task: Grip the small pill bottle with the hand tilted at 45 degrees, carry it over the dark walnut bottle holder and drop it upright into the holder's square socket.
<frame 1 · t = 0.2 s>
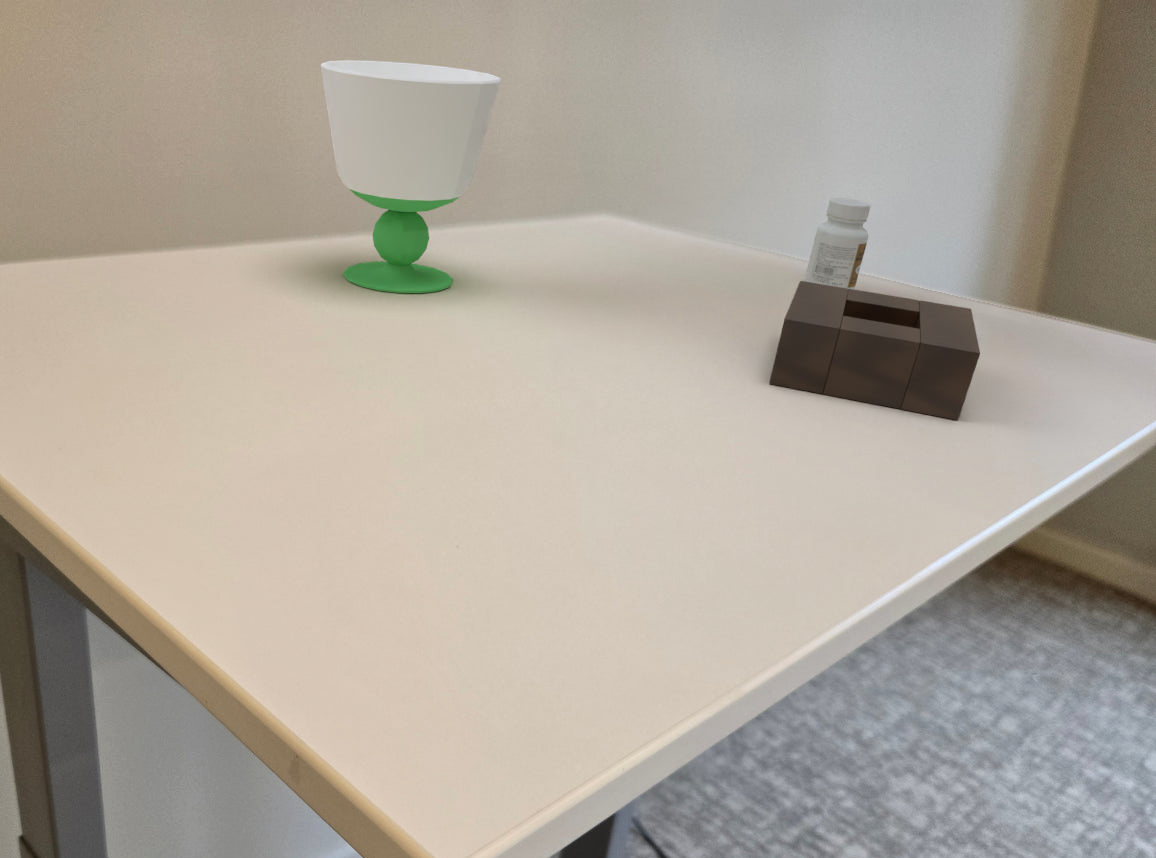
holder: (864, 376, 75), on the table
pill bottle: (827, 291, 97), on the table
cup: (398, 280, 89), on the table
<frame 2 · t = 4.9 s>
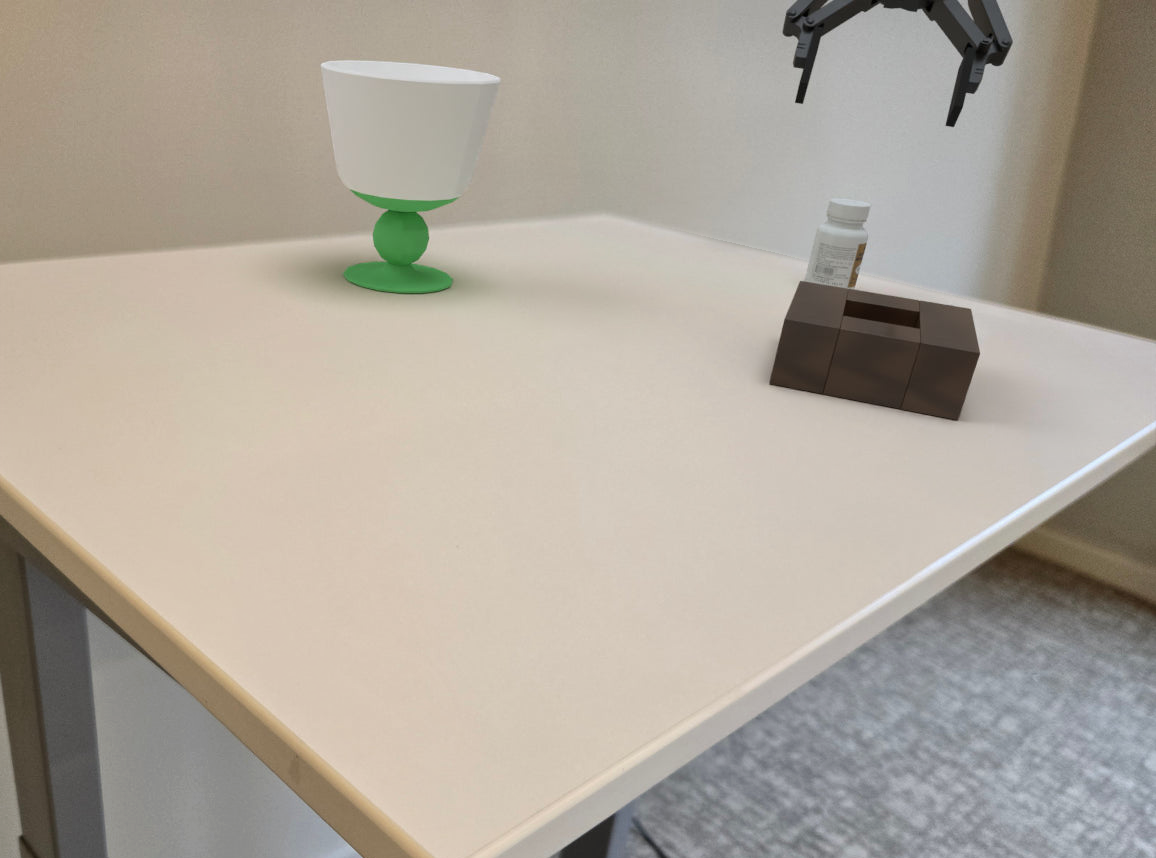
hand: (876, 105, 99), 15 cm above the table, tool tilted 45°, fingers open, 13 cm apart
nothing on the table moved.
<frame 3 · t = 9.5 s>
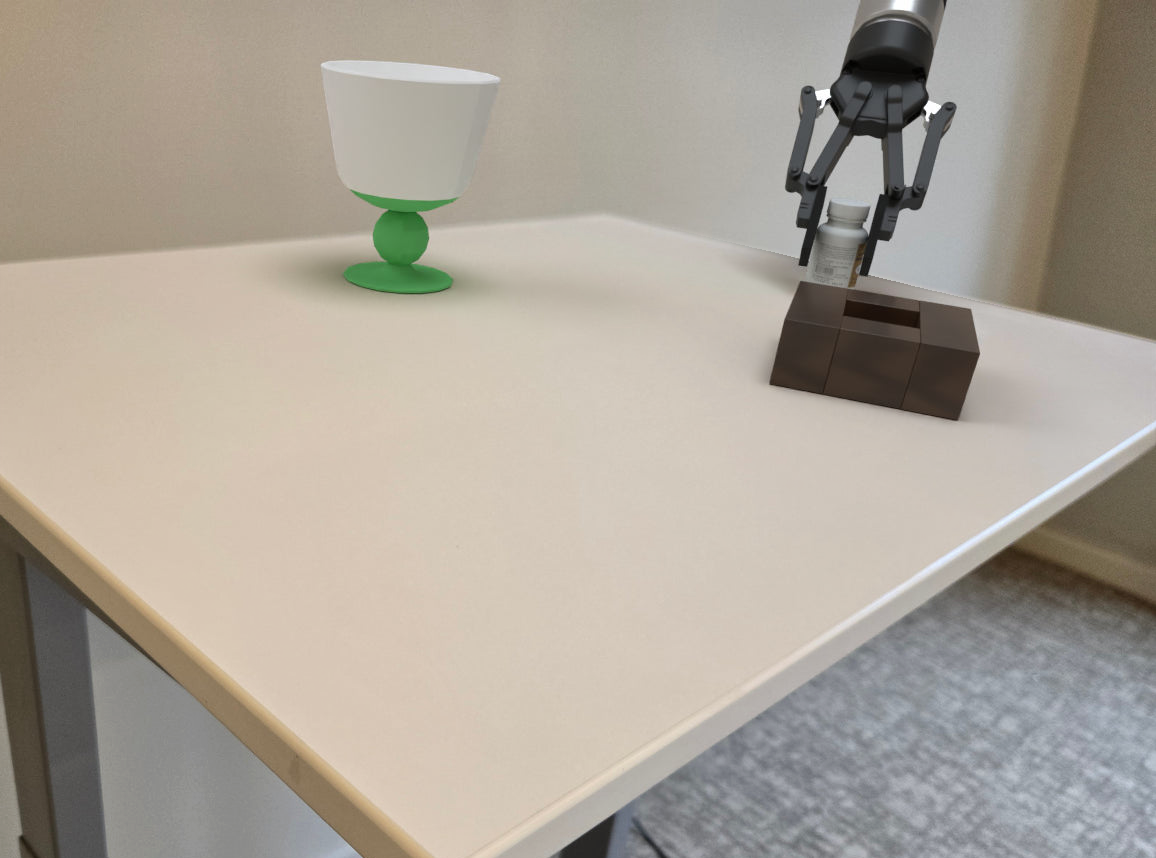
hand: (834, 261, 93), 3 cm above the table, tool tilted 45°, fingers closed on pill bottle, 4 cm apart
pill bottle: (827, 291, 97), on the table, touching gripper
everything else where it was.
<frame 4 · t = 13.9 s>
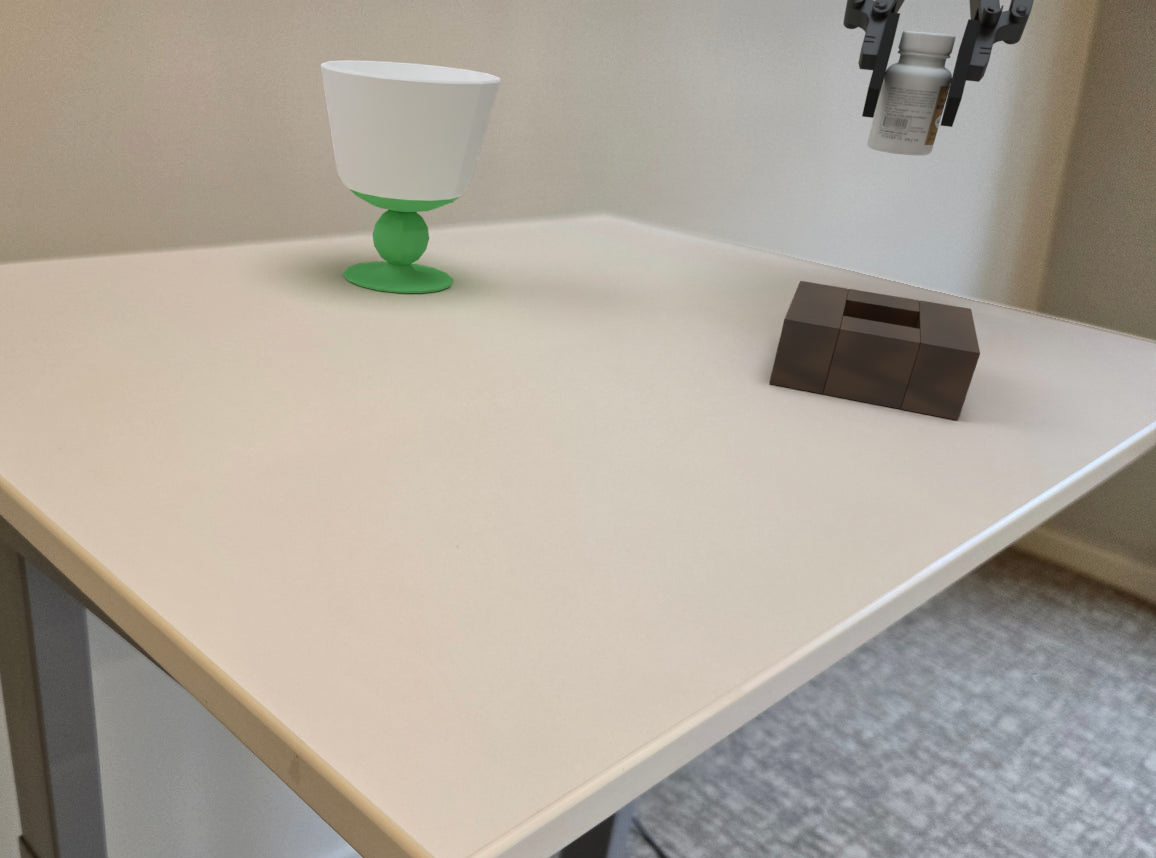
hand: (910, 107, 72), 17 cm above the table, tool tilted 45°, fingers closed on pill bottle, 4 cm apart
pill bottle: (897, 154, 77), point 14 cm above the table, touching gripper
everything else where it was.
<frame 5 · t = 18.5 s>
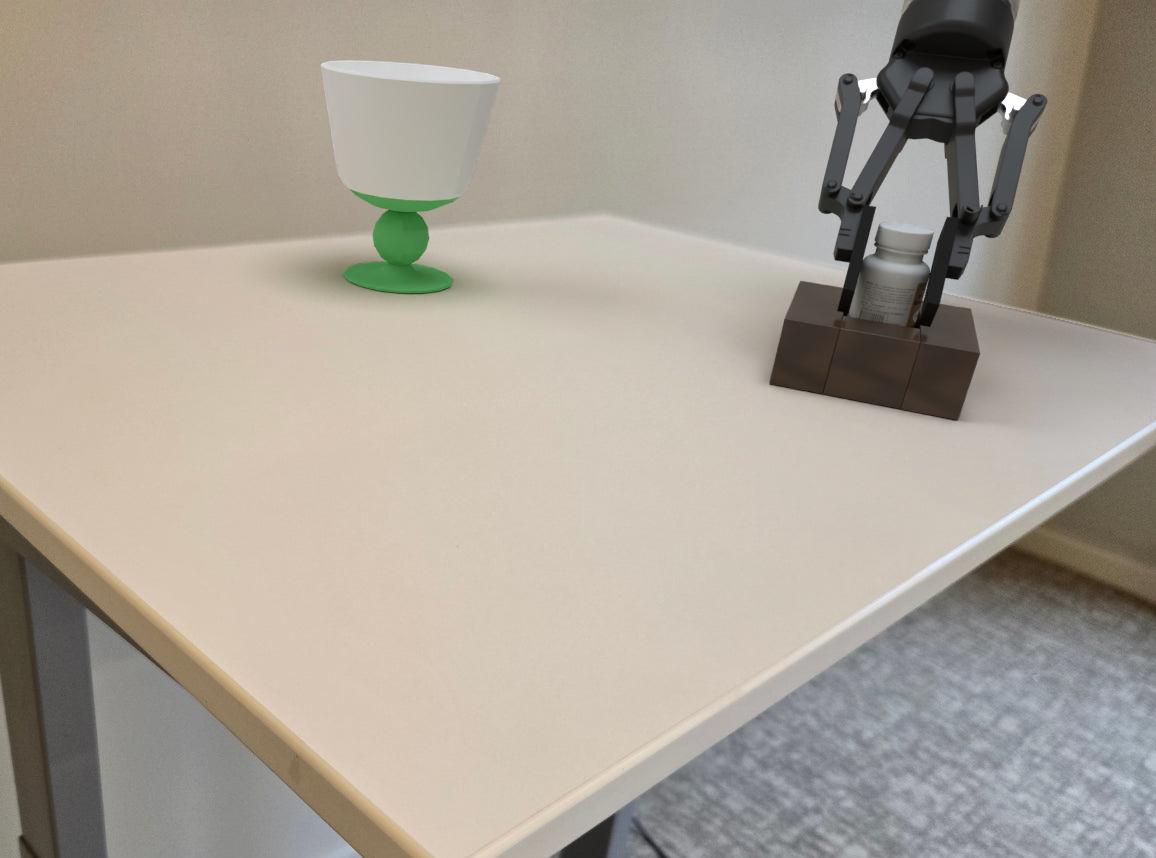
hand: (887, 307, 70), 6 cm above the table, tool tilted 45°, fingers closed on pill bottle, 4 cm apart
pill bottle: (874, 343, 74), point 2 cm above the table, touching gripper
everything else where it was.
when the fingers open (8 cm above the table, at t = 26.0 s): pill bottle drops 5 cm, resting in holder.
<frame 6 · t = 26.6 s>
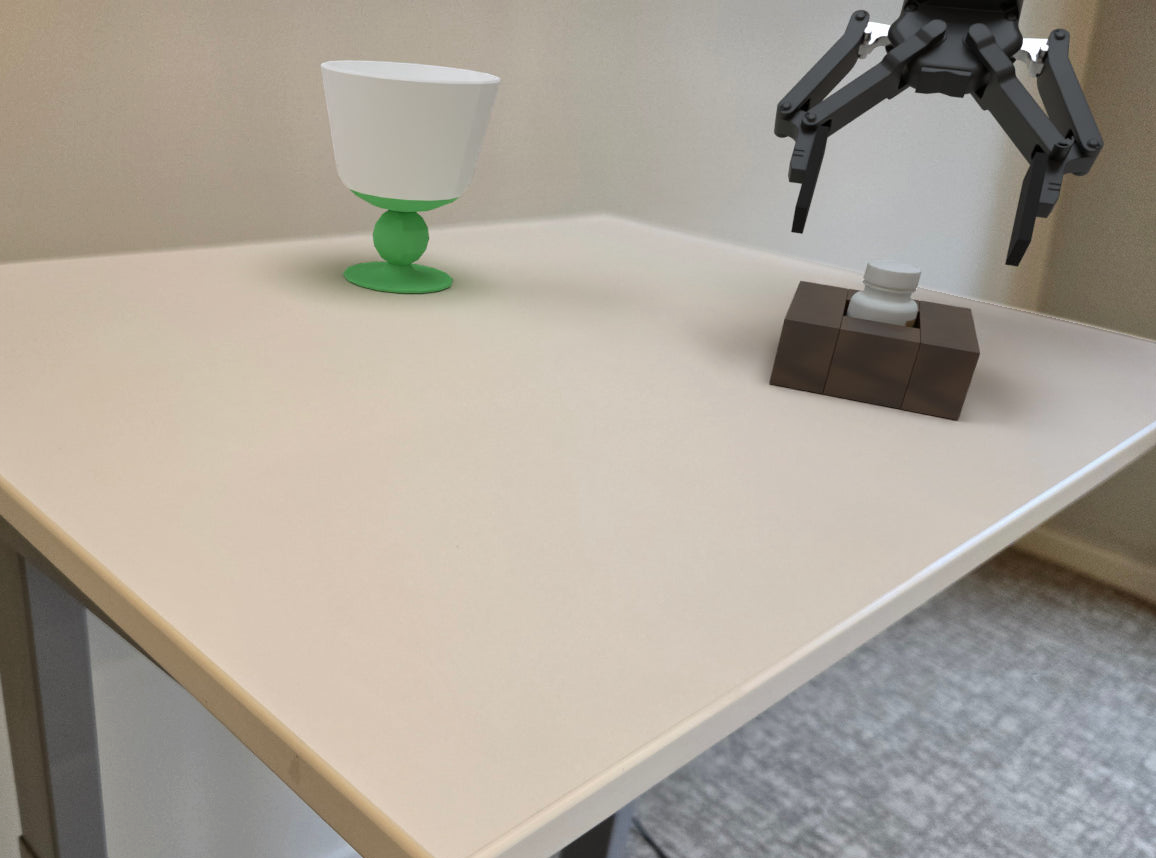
hand: (905, 237, 69), 10 cm above the table, tool tilted 45°, fingers open, 12 cm apart
pill bottle: (863, 378, 76), resting in holder
everything else where it was.
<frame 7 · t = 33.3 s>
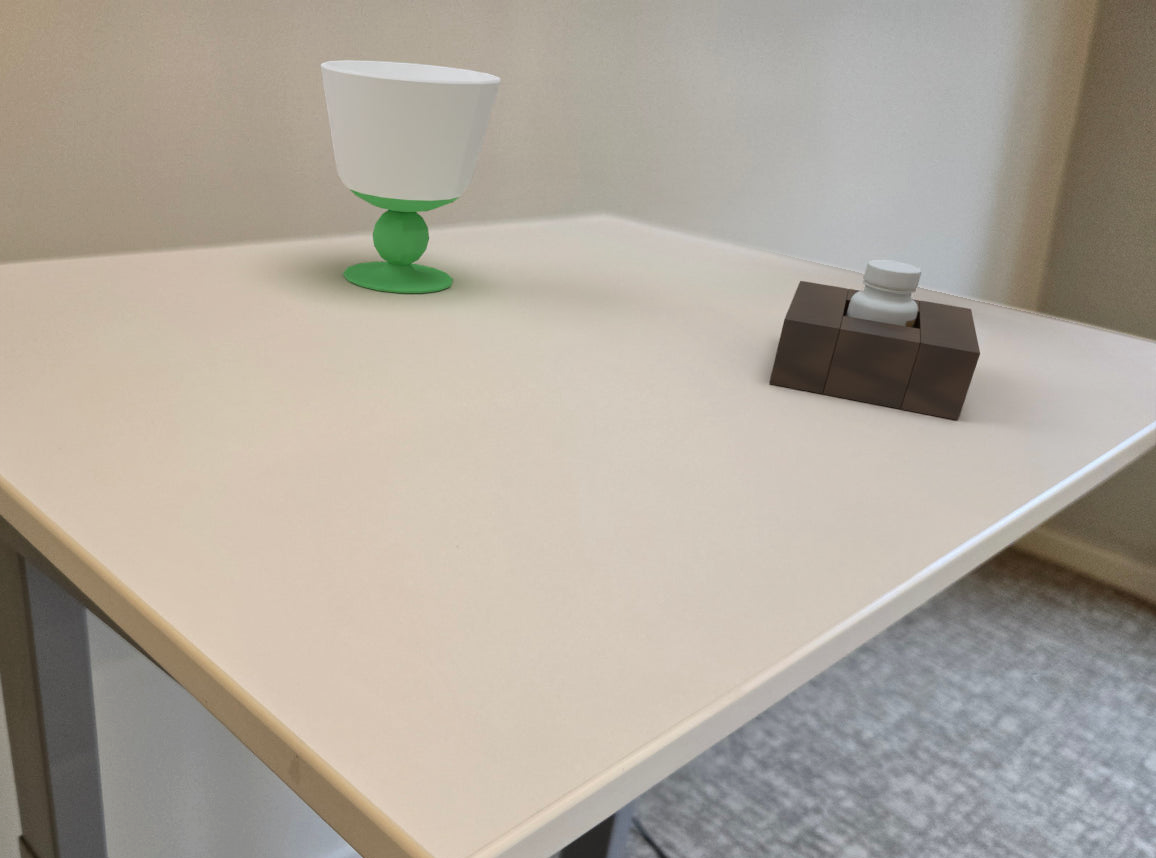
nothing on the table moved.
at the end: pill bottle 0.0 cm off-centre in the holder, point 0.0 cm above the holder's base; pill bottle tilted 0°; the gripper is holding nothing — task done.
